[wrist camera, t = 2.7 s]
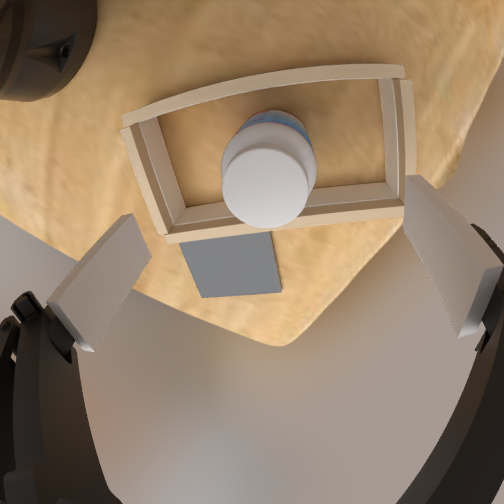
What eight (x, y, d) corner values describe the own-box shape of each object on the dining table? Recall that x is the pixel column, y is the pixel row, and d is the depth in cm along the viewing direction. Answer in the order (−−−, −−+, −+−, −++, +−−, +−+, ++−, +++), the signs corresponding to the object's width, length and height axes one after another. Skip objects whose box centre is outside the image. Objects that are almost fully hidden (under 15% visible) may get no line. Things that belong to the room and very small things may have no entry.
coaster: (175, 227, 30) (173, 229, 29) (266, 213, 28) (266, 216, 27) (202, 294, 35) (201, 297, 35) (281, 288, 33) (281, 292, 33)
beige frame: (142, 108, 22) (114, 117, 18) (387, 65, 18) (410, 64, 14) (179, 219, 29) (162, 246, 25) (396, 192, 24) (415, 216, 20)
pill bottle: (254, 98, 21) (229, 114, 12) (320, 126, 22) (344, 165, 13) (230, 158, 25) (193, 215, 16) (291, 183, 26) (292, 254, 16)
